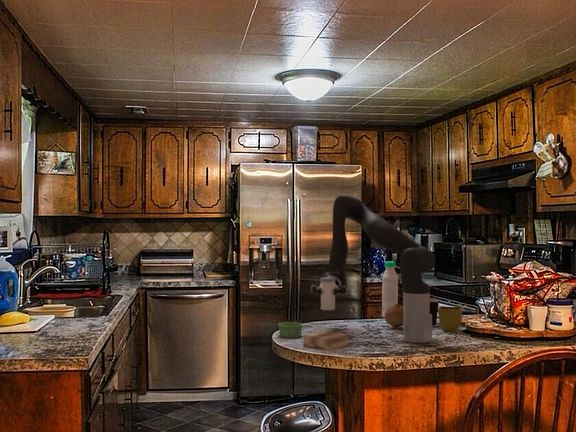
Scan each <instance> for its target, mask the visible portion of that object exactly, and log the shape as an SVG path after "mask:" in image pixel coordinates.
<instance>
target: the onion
mask: <svg viewBox="0 0 576 432" xmlns="http://www.w3.org/2000/svg"><path fill="white" fill-rule="evenodd" d="M384 319H385V322H387V324H388V325H389V326H391V327H392V328H395V329H398V328H401V327H403V305H402V304H400V303H396V304H394V306H392V307H390V308H388V309H387V311H386V313H385V318H384Z"/></svg>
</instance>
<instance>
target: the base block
mask: <svg viewBox="0 0 576 432" xmlns="http://www.w3.org/2000/svg"><path fill="white" fill-rule="evenodd" d="M302 344H303V346H306V347H312V348H316V349H322V350H327V351H330V350H333V349H338V348H342V347H345V346H349V334H346V333H341V332H335V331H329V330H319V331H315V332H310V333H306V334H303V338H302Z"/></svg>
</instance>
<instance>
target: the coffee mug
mask: <svg viewBox="0 0 576 432" xmlns="http://www.w3.org/2000/svg"><path fill="white" fill-rule="evenodd" d="M439 303H440V300H438V299H434V298H430V314H432V327H434V326H436V325H437V322H438V308H439Z"/></svg>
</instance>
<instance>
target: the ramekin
mask: <svg viewBox="0 0 576 432" xmlns="http://www.w3.org/2000/svg"><path fill="white" fill-rule="evenodd" d="M303 326H304V325H303V323H301V322H295V321H284V322H280V323H278V327H279V328H278V330H279V336H280V337H282V338H286V337H287V339H288V338H289V339H292V338H300V337H301V336H302V330H303V329H302V328H303Z"/></svg>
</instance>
